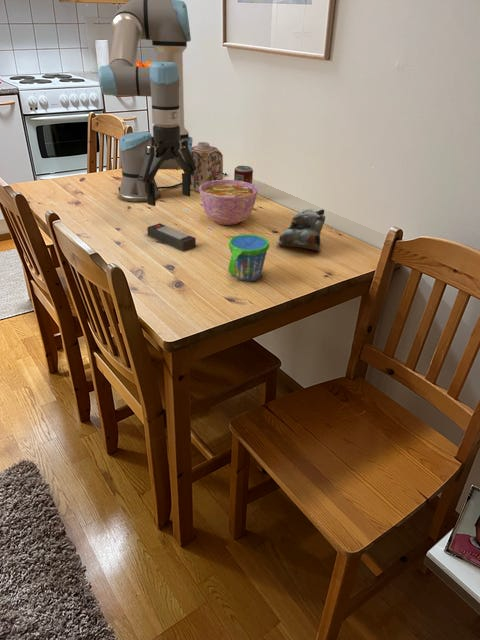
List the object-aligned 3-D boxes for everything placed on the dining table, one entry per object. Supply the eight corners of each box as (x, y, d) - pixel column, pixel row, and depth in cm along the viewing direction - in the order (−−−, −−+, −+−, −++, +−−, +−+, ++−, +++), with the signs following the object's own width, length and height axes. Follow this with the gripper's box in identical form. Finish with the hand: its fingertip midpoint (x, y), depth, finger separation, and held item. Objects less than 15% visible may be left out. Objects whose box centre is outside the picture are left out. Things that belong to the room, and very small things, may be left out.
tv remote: (195, 246, 150) (195, 236, 148) (183, 251, 147) (183, 241, 145) (160, 231, 159) (159, 222, 158) (147, 235, 156) (147, 225, 154)
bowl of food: (187, 220, 169) (186, 187, 163) (227, 207, 182) (228, 176, 175) (228, 236, 158) (229, 201, 151) (268, 221, 170) (270, 189, 164)
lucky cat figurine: (269, 243, 154) (281, 200, 152) (298, 252, 160) (310, 211, 158) (296, 247, 141) (309, 200, 139) (327, 257, 147) (340, 212, 146)
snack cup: (244, 292, 126) (245, 256, 121) (214, 279, 132) (214, 244, 126) (279, 272, 136) (282, 239, 131) (250, 261, 142) (252, 228, 136)
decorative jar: (201, 182, 208) (201, 138, 198) (223, 187, 202) (224, 143, 193) (183, 188, 199) (182, 143, 190) (205, 194, 194) (205, 147, 184)
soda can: (248, 202, 187) (250, 170, 181) (231, 200, 189) (232, 168, 182) (253, 197, 193) (255, 165, 187) (236, 195, 195) (237, 164, 188)
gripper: (138, 132, 125) (144, 212, 136) (207, 122, 141) (207, 194, 152) (120, 127, 129) (127, 205, 140) (190, 118, 145) (191, 189, 156)
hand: (169, 200), depth 146 cm, fingers open, 13 cm apart
